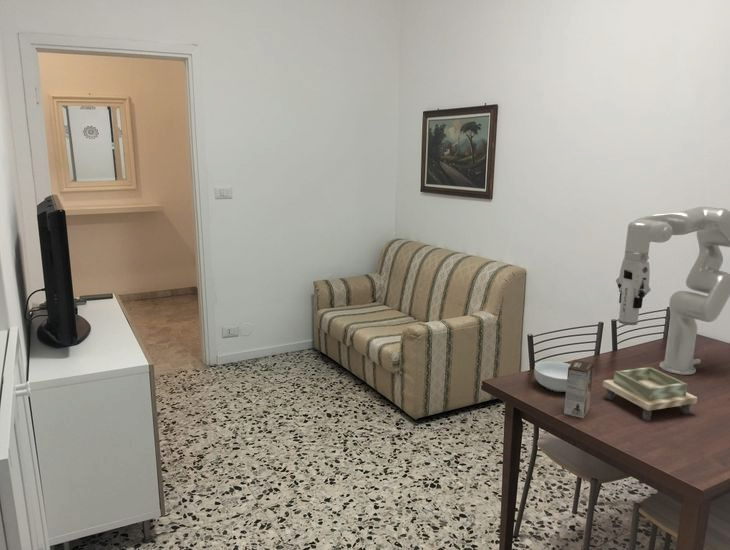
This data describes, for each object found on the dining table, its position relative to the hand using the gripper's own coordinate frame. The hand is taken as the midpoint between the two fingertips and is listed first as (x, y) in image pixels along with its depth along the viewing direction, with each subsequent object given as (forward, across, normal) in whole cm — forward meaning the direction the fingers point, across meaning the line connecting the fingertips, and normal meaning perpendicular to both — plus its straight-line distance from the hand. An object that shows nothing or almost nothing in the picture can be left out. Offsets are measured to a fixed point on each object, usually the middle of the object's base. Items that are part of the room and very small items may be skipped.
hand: (630, 305), depth 201 cm
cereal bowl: (+30, +2, +26) cm, 40 cm away
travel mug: (+7, 0, 0) cm, 7 cm away
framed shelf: (+30, -19, +6) cm, 36 cm away
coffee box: (+30, -17, +32) cm, 47 cm away
